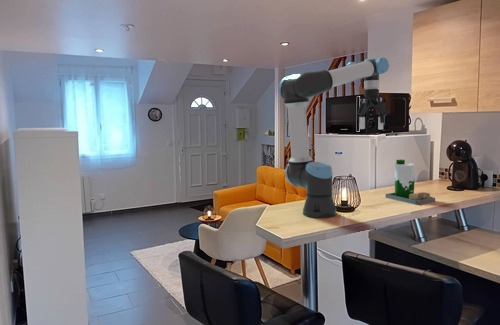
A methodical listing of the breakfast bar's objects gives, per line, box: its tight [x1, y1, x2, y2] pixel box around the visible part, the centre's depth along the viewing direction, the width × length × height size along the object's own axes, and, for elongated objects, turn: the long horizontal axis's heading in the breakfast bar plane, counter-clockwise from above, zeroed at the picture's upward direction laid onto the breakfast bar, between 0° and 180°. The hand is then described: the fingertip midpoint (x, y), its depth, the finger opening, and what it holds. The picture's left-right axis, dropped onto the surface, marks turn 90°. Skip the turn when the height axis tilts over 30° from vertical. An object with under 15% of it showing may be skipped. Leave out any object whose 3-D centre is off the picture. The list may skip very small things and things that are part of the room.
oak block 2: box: [417, 191, 431, 200], centre depth 190 cm, size 4×4×4 cm
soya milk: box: [394, 159, 416, 199], centre depth 197 cm, size 9×9×20 cm
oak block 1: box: [409, 193, 421, 201], centre depth 188 cm, size 4×4×4 cm
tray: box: [385, 192, 436, 206], centre depth 195 cm, size 13×20×2 cm, turn 25°
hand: (371, 129), depth 203 cm, fingers open, 13 cm apart
